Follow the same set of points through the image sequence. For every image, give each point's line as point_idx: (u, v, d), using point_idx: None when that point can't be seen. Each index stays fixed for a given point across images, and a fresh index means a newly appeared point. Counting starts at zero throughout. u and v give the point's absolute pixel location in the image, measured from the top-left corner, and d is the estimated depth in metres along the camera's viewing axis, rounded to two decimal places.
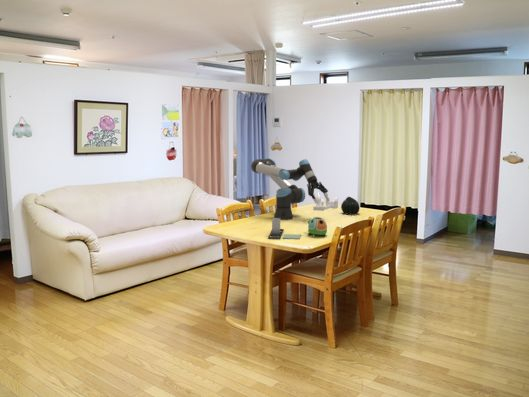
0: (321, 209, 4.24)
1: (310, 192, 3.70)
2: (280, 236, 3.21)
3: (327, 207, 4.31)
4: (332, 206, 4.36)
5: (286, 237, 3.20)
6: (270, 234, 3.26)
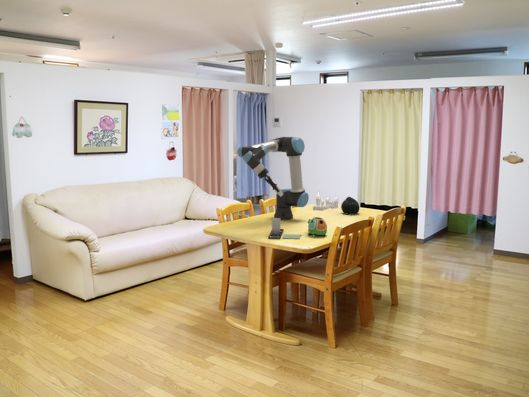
0: (321, 209, 4.24)
1: None
2: (280, 236, 3.21)
3: (327, 207, 4.31)
4: (332, 206, 4.36)
5: (286, 237, 3.20)
6: (270, 234, 3.26)
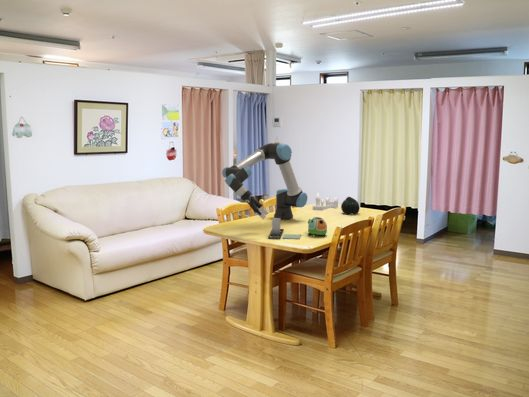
0: (320, 209, 4.24)
1: None
2: (280, 236, 3.21)
3: (327, 207, 4.32)
4: (332, 206, 4.36)
5: (286, 237, 3.20)
6: (270, 234, 3.26)
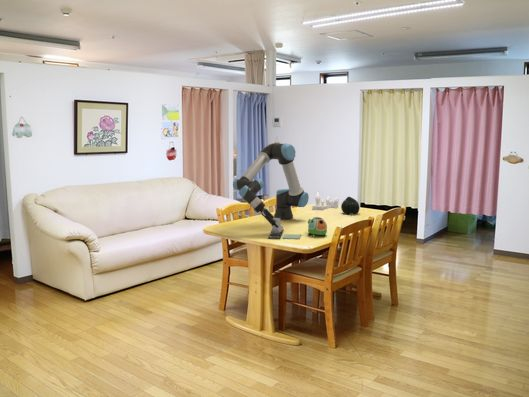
0: (320, 209, 4.25)
1: None
2: (280, 236, 3.21)
3: (327, 207, 4.32)
4: (332, 206, 4.36)
5: (286, 237, 3.20)
6: (270, 234, 3.26)
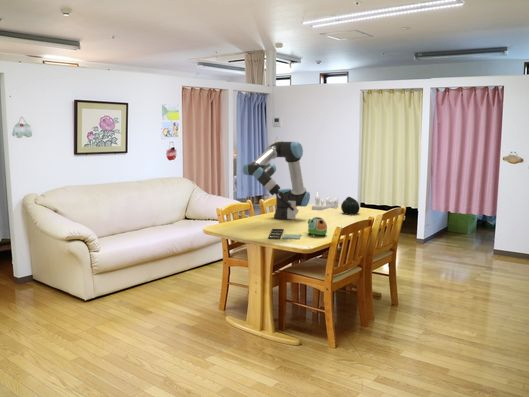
0: (319, 209, 4.25)
1: None
2: (280, 236, 3.21)
3: (326, 207, 4.32)
4: (332, 206, 4.37)
5: (286, 237, 3.20)
6: (270, 234, 3.26)
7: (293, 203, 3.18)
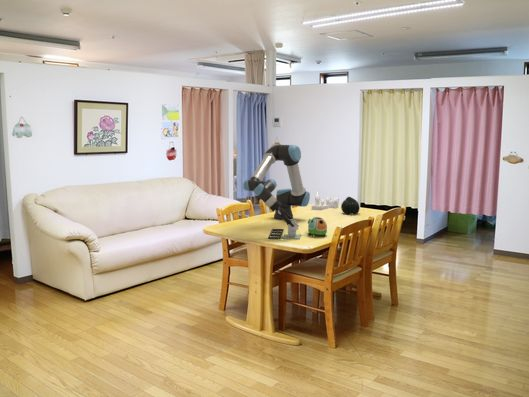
0: (319, 209, 4.25)
1: None
2: (280, 236, 3.21)
3: (326, 207, 4.32)
4: (332, 206, 4.37)
5: (286, 237, 3.20)
6: (270, 234, 3.26)
7: (294, 221, 3.20)
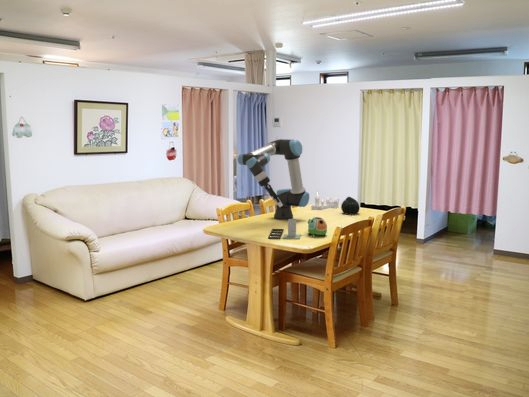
0: (319, 209, 4.26)
1: None
2: (280, 236, 3.21)
3: (326, 207, 4.32)
4: (332, 206, 4.37)
5: (286, 237, 3.20)
6: (270, 234, 3.26)
7: (294, 221, 3.20)
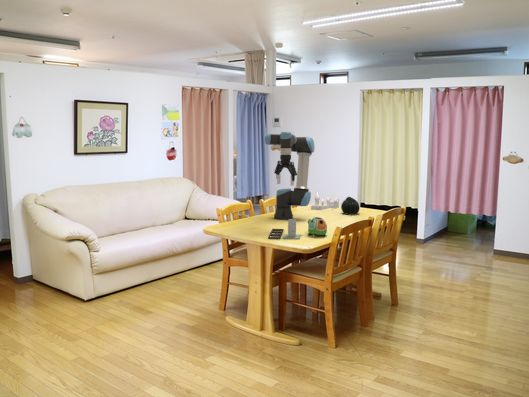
0: (318, 208, 4.26)
1: None
2: (280, 236, 3.21)
3: (326, 207, 4.33)
4: (332, 206, 4.37)
5: (286, 237, 3.20)
6: (270, 234, 3.26)
7: (294, 221, 3.20)
